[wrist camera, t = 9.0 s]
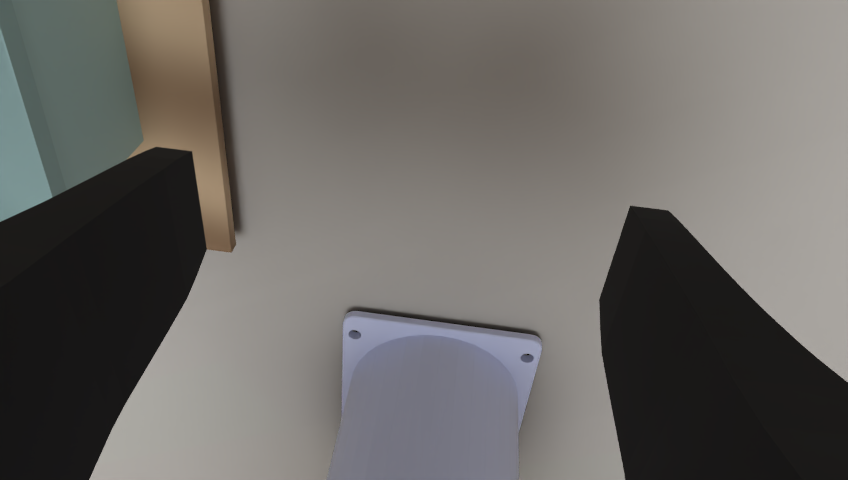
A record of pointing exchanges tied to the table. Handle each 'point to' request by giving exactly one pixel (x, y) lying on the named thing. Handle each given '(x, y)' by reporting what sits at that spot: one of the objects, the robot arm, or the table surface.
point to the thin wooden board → (181, 98)
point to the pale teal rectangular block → (61, 98)
